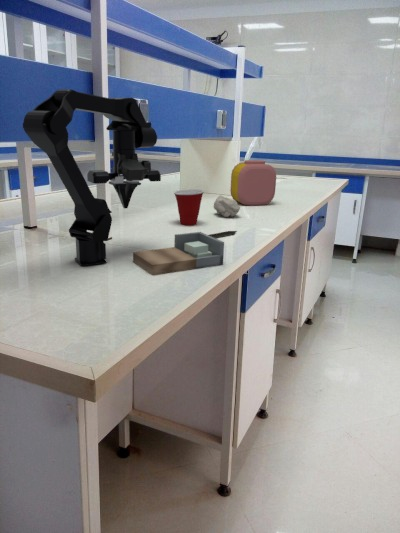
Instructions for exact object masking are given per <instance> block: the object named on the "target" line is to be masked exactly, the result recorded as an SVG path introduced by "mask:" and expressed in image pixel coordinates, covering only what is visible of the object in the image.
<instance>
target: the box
mask: <svg viewBox="0 0 400 533" xmlns="http://www.w3.org/2000/svg"><path fill="white" fill-rule="evenodd" d="M209 235H210V234H206V233H204V232H202V231H197V232H186V233H177V234H174V246H173V247H175V248H177V249H179V250H181V251H183V252H184V253H186V254H188V255H189V252H187V251H184V245H185V243H189V242H196V241H199V242H202V243H205V244H207V245H208V251H210V252H212V256H205V257H198V258H196V259H197V262H196V269H202V268H207V267H216V266H221V265H224V255H225V254H224V253H225V252H224V251H225V250H224V249H225V241H222V240H220V239H217V238H213V237H211V236H209Z"/></svg>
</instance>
